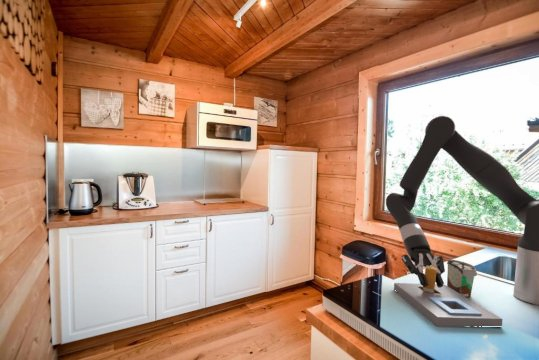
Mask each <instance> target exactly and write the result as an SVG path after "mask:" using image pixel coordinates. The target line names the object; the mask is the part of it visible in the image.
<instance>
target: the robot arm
mask: <svg viewBox="0 0 539 360" xmlns="http://www.w3.org/2000/svg"><path fill="white" fill-rule="evenodd" d="M424 133H425V134H424V136H423V137H424V138H423V140H422V142H421V145H420V147H419V149H418V151H417V152H416V154H415V156H414V157H413V159H412V161H411V162H410V163H409V165H408V167H407V169H406V170H405V173H403V176H402V178H401V179H400V182H399V187H400V188H401V189H403V194H400V193H397V192H391V193H389V194H388V195H387V196H386V197H385V198H386V199H385V206H386V209H387V210H388V212H389V214H390V215H391V216H392V218H393V219H394V221H396V225H397V227H398V229H399V232H400V233H399V234H400V236H401V239H402V242H403V244H404V247H405V250H406V252H407V254H404V255H403V256H402V257H401V261H402V262H403V263H404V265H405V267H406V269H407V270H408V271H409V273H410V274H411V275H416V277H417V278H418V281H419V284H421V285H422V286H423V287H427V286H428V282H427V279H426V277H425V272H424V268H426V265H428V266H432V267H435V268H437V272H436V280H435V284H437V286H438V288H441V287H442V286H443V285H445V282H444V280H443V277H442V274H443V273H445V272H446V269H445V262H444V257H443V256H442V255H439V256H437V255H434V254H433V252H432V251H431V245H430V244H429V242H428V239H427V237H426V235H425V233H424V231H423V229H422V227H421V226H420V224H419V221H418V219H417V216H416V215H415V214H414V212H412V210H413V209H414V207H415V205H416V200H417V197H418V192H419V189H420V187H421V185H422V183H423V182H424V180H425V178H426V176H427V174H428V172H429V170H430V168H431V166H432V165H433V162H434V160H435V159H436V157H437V156H438V154H439V152H440V151H441V150H443V151H445V152H446V153H447V154H448V155H450V156H451V158H453V160H454V161H455V162H456V163H457V164H458V165H459V166H460V167H461V168H462V169H463V170H464V171H465V173H467V174H468V175H469V176H470V177H471V178H472V179H474V181H476V182H477V183H478V184H479V185H481V186H482V187H483V188H484V189H485V190H487V191H488V192H489V193H490V194H492V195H493V196H494V197H496V198H497V199H498V200H499V201H500V202H502V204H504V205H505V206H506V207H507V208H508V209H509V211H510V212H511V213H512V214H513V215H514V216H515V217H516V219H518V221H519V222H521V223H522V224H523V225H524V229H523V234H522V236H521V237H519V238H518V240H517V251H516V252H517V253H516V262H515V272H514V273H515V275H514V284H513V285H514V286H513V294H512V295H513V296H514V297H515V298H517V299H518V300H520V301H523V302H526V303H530V304H533V305H536V306H539V200H538V199H536V198H535V197H533V196H532V195H530V194H529V193H528V192H526V190H524V189H523V188H522V187H521V186H520V185H519V184H518V182H517V181H516V180H515V178H514V177H513V175H512V173H511V172H510V171H509V170H508V169H507V168H506V166H504V165H503V164H502V163H501V162H500V161H498V160H497V159H496V158H495V157H494V156H492V155H491V154H490V153H488V152H487V151H485V150H483V149H482V148H480V147H479V146H476V145H474V144H473V143H471V142H470V141H468V140H467V139H466V138H464V136H462V135H461V134H460V133H459V131H457V130H456V124H455V122H454V120H453V119H452V118H450V117H449V116H445V115H440V116H435V117H434V118H432V119H431V120H429V121H428V123H427V124H426V127H425V128H424Z"/></svg>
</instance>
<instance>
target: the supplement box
mask: <svg viewBox="0 0 539 360" xmlns="http://www.w3.org/2000/svg"><path fill="white" fill-rule="evenodd" d="M436 272H437V268H435V267H432V266H431V265H430V266H428V265H426V267H425V270H424V274H425V277H426V279H427V282H428V286H427V287H423V291H424V292H425V293H434V289H435V284H436V282H435V280H436Z"/></svg>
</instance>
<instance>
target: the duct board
mask: <svg viewBox="0 0 539 360" xmlns="http://www.w3.org/2000/svg"><path fill="white" fill-rule="evenodd" d="M394 290H396V291H397V292H398V293H399V294H400V295H401V296H402V297H401V296H400V295H399V294H398V293H397V292H396V291H395V292H396V293H397V294H398V295H399V296H400V297H401V298H402V299H404V300H405V301H406V302H407V303H408V304H409V305H411V306H412V307H413V308H414V309H416V310H417V311H418V312H419V313H420V314H422V316H424V317H425V318H426V319H427V320H429V321H430V322H431V323H432V324H434V326H436V327H440V328H441V327H446V328H447V327H448V328H452V327H451V326H460V327H459V328H465V327H464V326H477V327H479V326H481V327H482V326H502V327H503V318H502V317H500V316H498V315H497V314H495V313H494V312H491V310H489V309H487V308H485V307H483V306H481V305H479V303H476V302H475V301H473V300H471V299H470V298H466V297H465V296H463V295H461V294H460V293H458V292H456V291H455V290H453V289H451V288H449V287H448V286H447V284H443V286H442V287H441V288H438V286H437V284H436V283H435V289H434V293H425V292H424V291H423V286H422V285H421V284H420V283H410V282H409V283H408V282H394V284H393V291H394ZM449 326H450V327H449ZM461 326H462V327H461Z"/></svg>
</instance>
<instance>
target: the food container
mask: <svg viewBox="0 0 539 360" xmlns="http://www.w3.org/2000/svg"><path fill="white" fill-rule="evenodd" d="M446 264H447V273H446V274H447V275H446V276H447V277H446V278H447V280H446V281H447V282H446V286H448V287H449V288H451V289H453V290H455V291H456V292H458V293H460V294H461V295H463V296H465V297H466V298H468V299H470V298H471V296H472V290H473V287H474V286H473V284H474V280H475V277H477V276H478V272H477V269H476V267H475V266H474V265H472V264H471V263H468V262H464V261H460V260H456V259H451V258H448V259H447V262H446Z"/></svg>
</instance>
